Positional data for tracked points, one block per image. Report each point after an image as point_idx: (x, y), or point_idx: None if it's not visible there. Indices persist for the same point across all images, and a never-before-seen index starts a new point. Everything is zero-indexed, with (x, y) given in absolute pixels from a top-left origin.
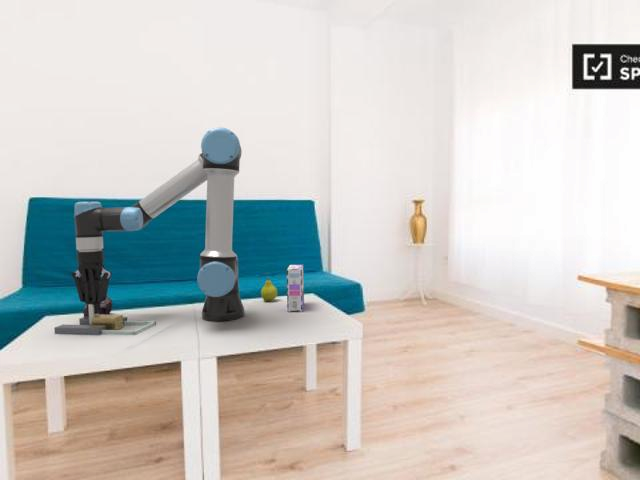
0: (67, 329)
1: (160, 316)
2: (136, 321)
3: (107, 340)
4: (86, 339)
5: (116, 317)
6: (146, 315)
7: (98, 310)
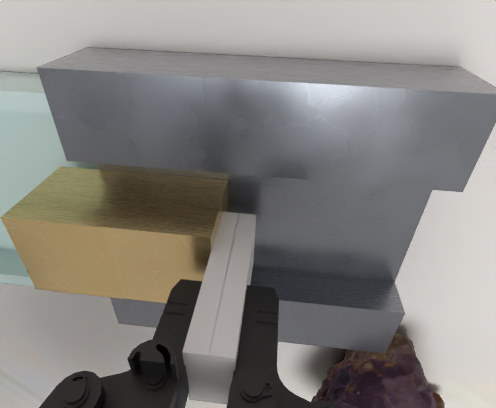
0: (355, 80)
1: None
2: None
3: (27, 43)
4: None
5: (11, 235)
6: None
7: (168, 308)
